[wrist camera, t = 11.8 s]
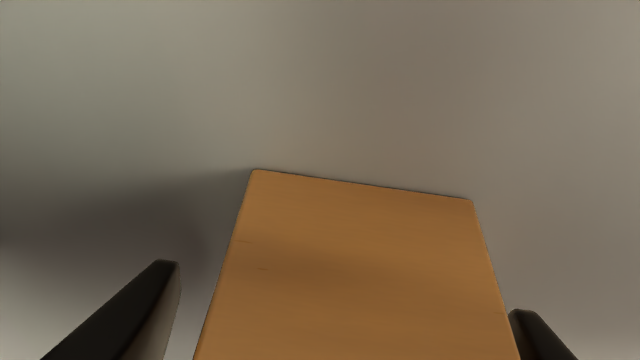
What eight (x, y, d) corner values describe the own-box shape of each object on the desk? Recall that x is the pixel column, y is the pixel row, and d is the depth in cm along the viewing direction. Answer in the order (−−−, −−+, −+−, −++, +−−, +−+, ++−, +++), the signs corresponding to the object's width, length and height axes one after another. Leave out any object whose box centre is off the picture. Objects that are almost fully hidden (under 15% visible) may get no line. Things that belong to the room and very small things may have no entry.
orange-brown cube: (417, 330, 11) (442, 541, 8) (244, 307, 11) (196, 511, 8) (474, 198, 9) (544, 425, 5) (252, 166, 9) (185, 377, 5)
